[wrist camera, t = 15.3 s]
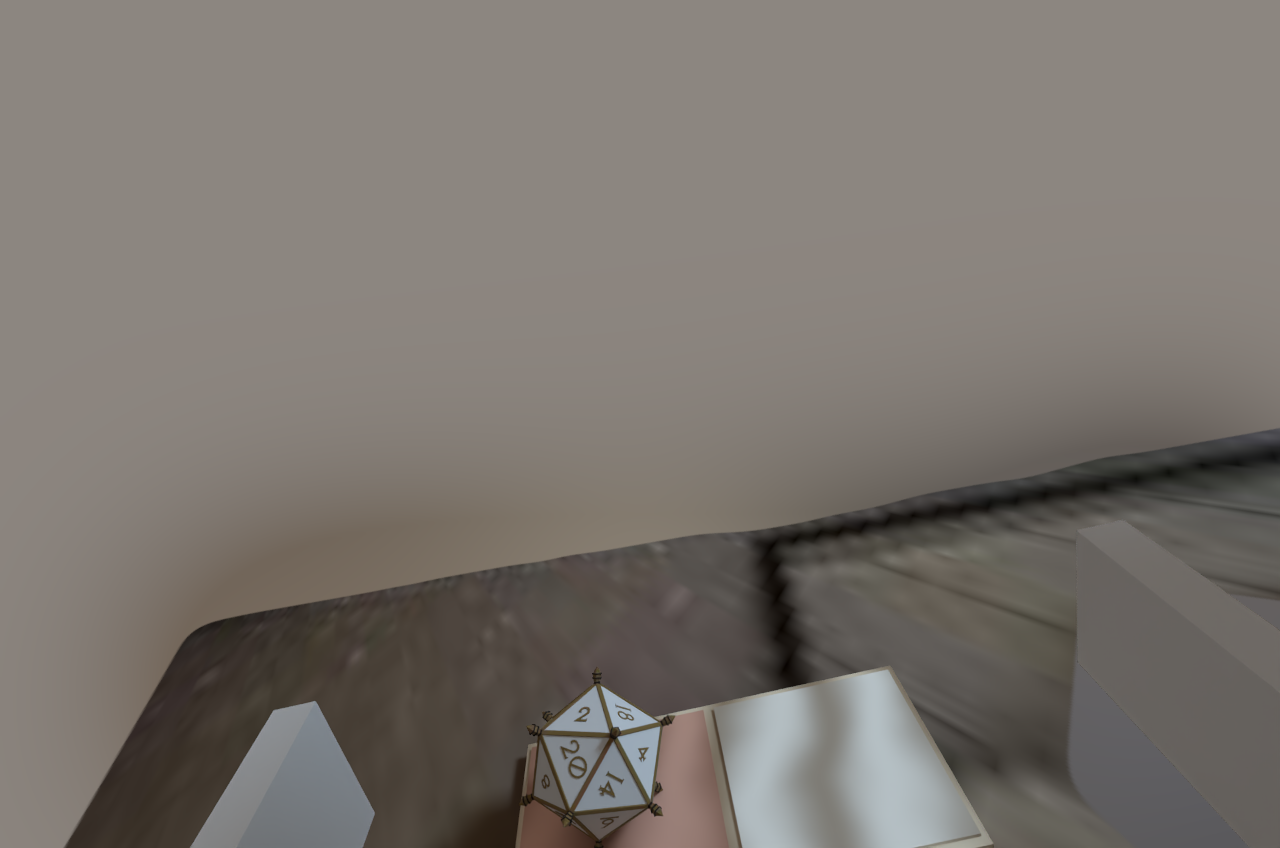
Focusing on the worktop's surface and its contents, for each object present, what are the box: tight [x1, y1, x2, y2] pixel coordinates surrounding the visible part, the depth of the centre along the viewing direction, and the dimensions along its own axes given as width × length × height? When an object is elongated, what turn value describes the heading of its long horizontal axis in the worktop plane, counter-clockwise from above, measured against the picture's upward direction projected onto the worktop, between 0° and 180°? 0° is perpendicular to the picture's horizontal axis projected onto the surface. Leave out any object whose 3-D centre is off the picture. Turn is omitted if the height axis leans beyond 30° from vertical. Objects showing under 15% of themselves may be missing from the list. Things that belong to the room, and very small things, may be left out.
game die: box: [519, 667, 675, 848], centre depth 39 cm, size 9×8×10 cm
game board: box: [515, 666, 994, 848], centre depth 41 cm, size 25×13×1 cm, turn 93°
